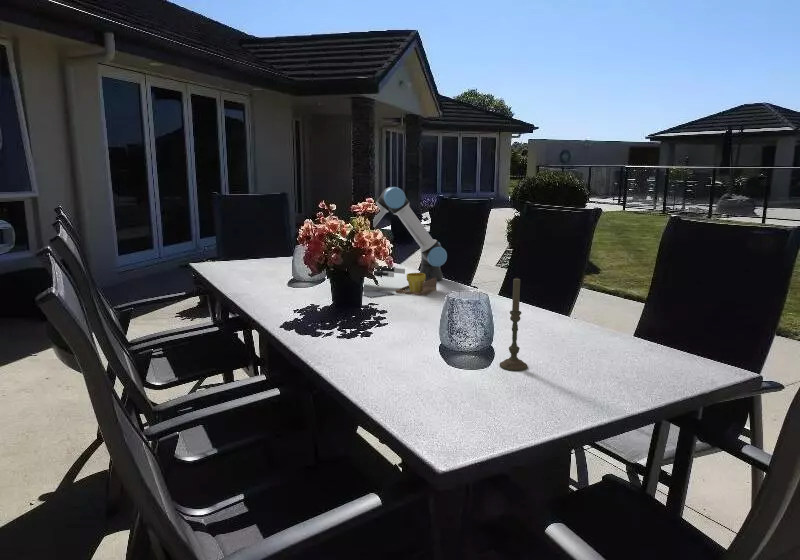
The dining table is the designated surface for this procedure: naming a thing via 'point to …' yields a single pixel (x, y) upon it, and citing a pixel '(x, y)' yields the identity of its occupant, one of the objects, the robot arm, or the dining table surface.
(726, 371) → the dining table surface
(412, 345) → the dining table surface
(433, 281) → the dock
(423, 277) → the plant pot
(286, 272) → the dining table surface
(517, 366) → the candlestick holder
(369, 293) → the mat
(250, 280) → the dining table surface
